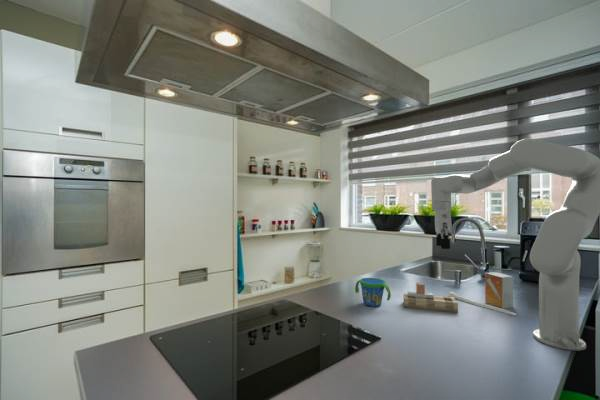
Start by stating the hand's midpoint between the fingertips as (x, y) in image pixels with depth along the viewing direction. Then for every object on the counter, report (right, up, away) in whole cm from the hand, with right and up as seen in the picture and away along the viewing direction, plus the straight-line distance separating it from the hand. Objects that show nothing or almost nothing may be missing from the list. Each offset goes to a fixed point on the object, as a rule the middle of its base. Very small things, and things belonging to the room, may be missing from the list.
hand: (443, 247), depth 124 cm
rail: (-6, -25, 0) cm, 26 cm away
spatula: (+17, -26, +3) cm, 31 cm away
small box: (+25, -25, +3) cm, 36 cm away
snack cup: (-29, -25, +3) cm, 38 cm away
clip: (-9, -24, +1) cm, 26 cm away
